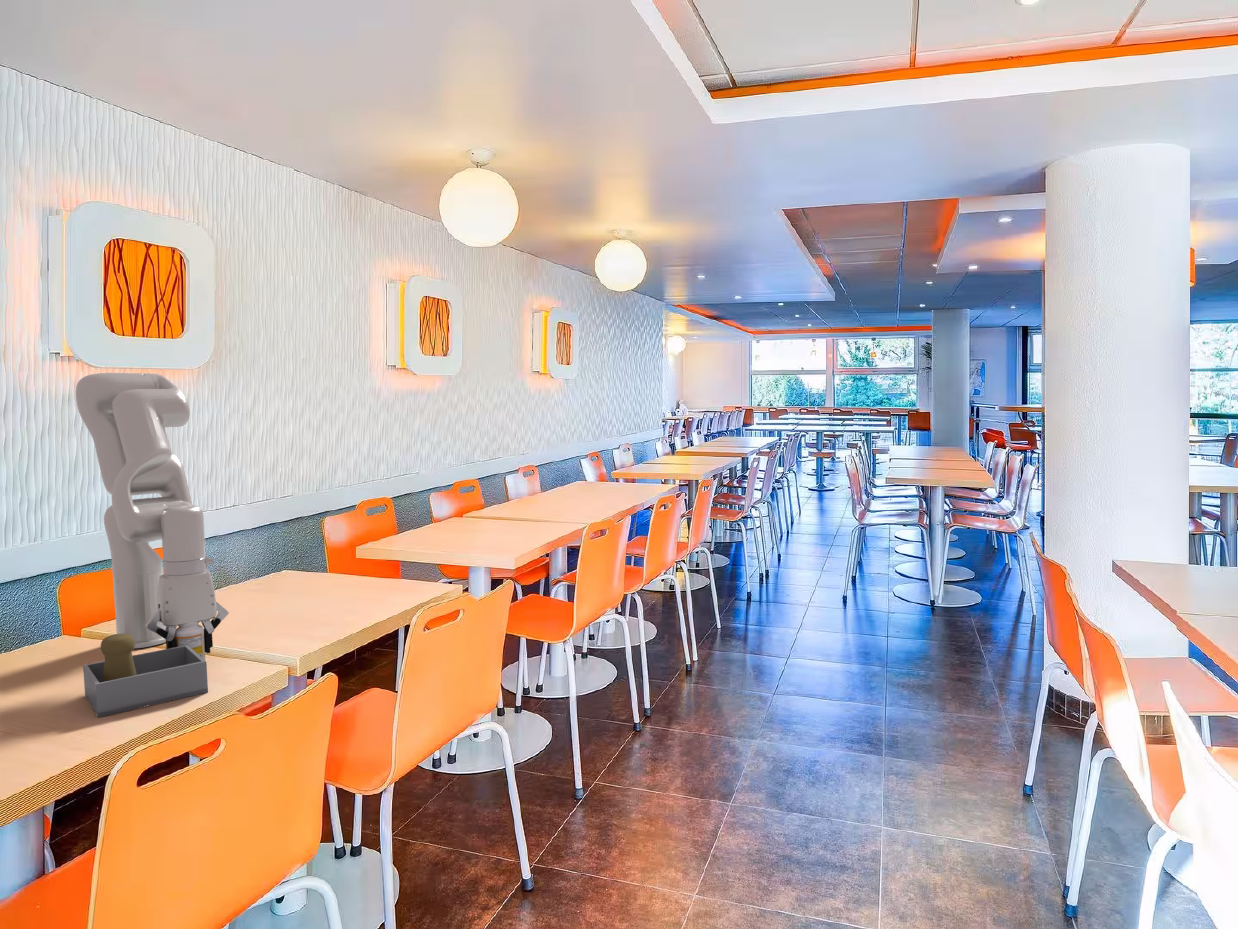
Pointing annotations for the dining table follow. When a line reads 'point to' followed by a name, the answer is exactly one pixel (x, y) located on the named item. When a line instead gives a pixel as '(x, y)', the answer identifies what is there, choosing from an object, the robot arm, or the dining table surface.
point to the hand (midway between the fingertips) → (190, 654)
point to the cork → (118, 656)
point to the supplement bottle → (191, 637)
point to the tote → (147, 681)
